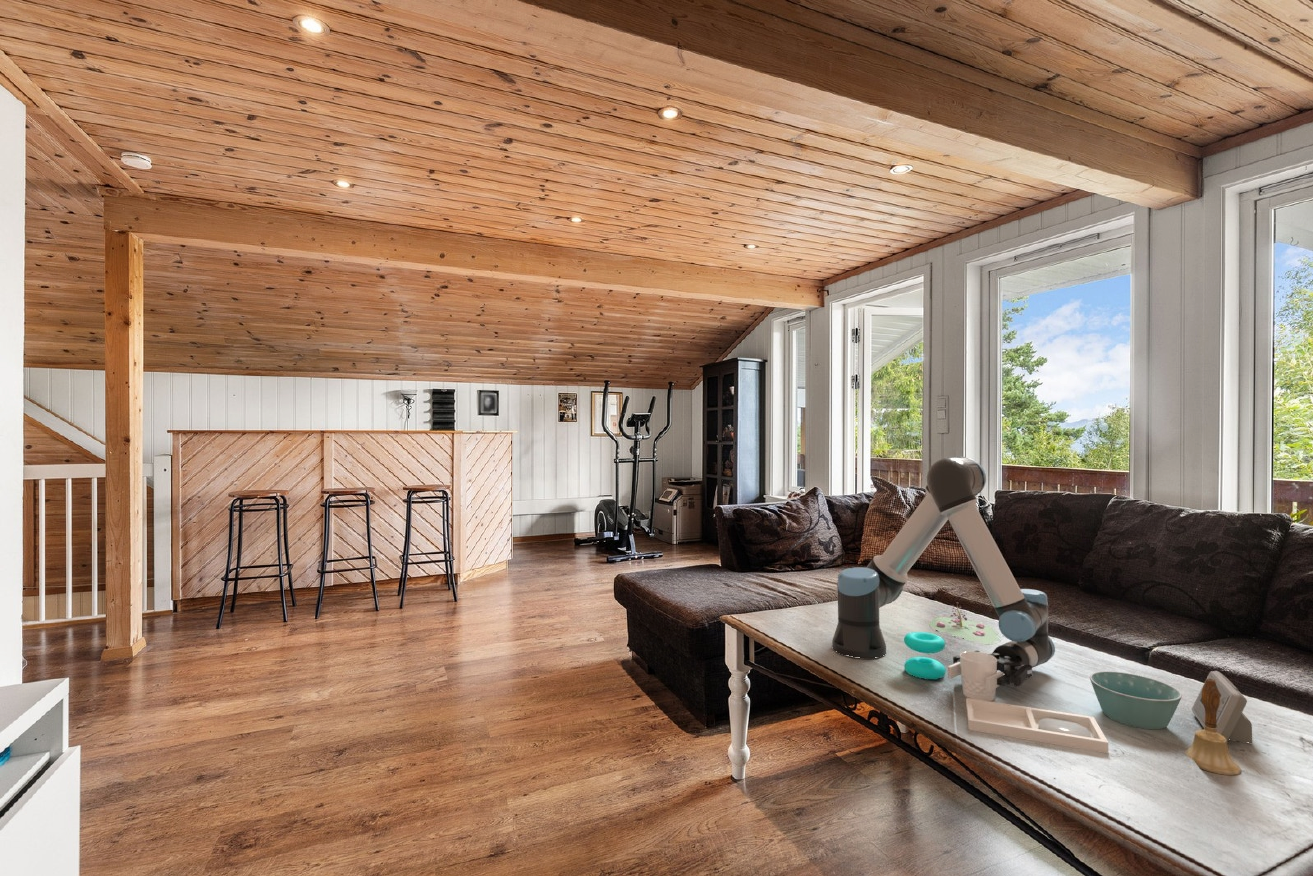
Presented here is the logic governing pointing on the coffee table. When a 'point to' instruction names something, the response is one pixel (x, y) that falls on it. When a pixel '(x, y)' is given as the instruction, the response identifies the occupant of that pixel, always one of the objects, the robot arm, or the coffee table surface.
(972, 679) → the white cup
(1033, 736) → the tray
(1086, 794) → the coffee table surface
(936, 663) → the donuts
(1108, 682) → the bowl
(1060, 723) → the grey flat disc
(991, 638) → the plant
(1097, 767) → the coffee table surface
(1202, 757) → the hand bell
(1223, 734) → the digital clock
